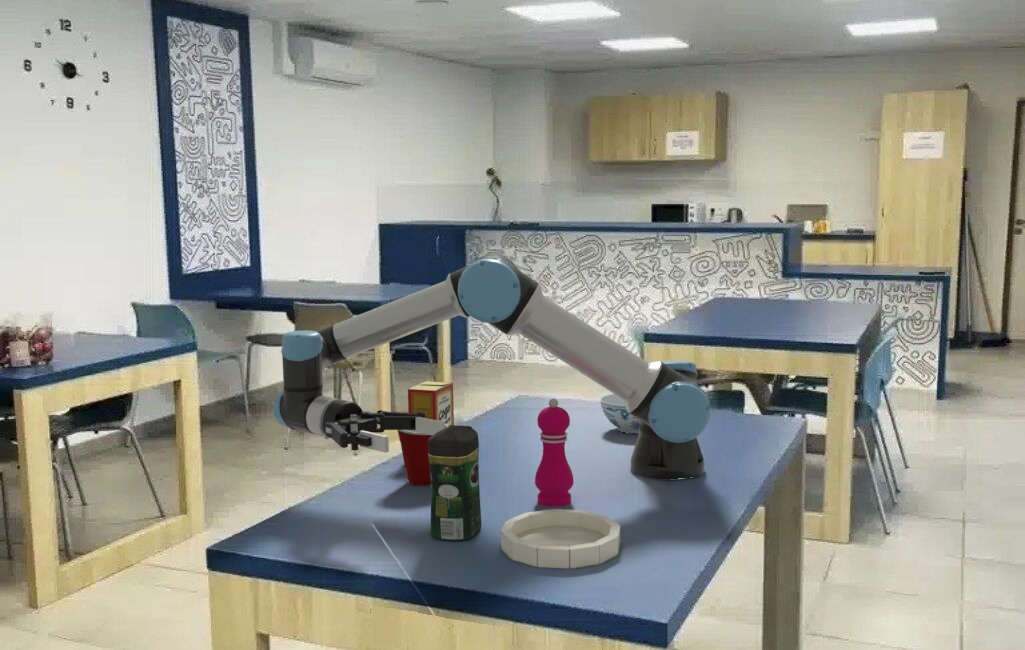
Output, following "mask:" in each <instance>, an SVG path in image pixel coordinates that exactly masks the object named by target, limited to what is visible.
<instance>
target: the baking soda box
mask: <svg viewBox="0 0 1025 650" xmlns="http://www.w3.org/2000/svg"><path fill="white" fill-rule="evenodd" d="M407 403H408V404H407V406H408V407H407V408H408V409H407V410H408V412H407V413H418V412H421V413H424V414H426V418H427V419H432V420H437V421H442V422H444V423H445V424H447V425H448V426H450V425H455V421H454V420H455V414H454V413H455V411H454V410H455V409H454V382H450V381H449V382H446V381H445V382H444V381H429V380H428V381H427V380H426V381H423V382H421V383H419V384H417V385H414V386H412V387H410V388H408V389H407Z"/></svg>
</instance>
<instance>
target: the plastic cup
mask: <svg viewBox="0 0 1025 650" xmlns="http://www.w3.org/2000/svg"><path fill="white" fill-rule="evenodd" d="M447 427H449V426H448V425H447V424H445V423H444V429H445V428H447ZM397 433H398V438H399V442H400V447H401V448H400V449H401V452H402V453H401V454H402V458H403V464H404V468H405V472H406V478H407V480H408V483H409V484H410V485H411V486H416V487H417V486H418V487H419V486H420V487H421V486H422V487H424V486H431V483H430V464H429V457H428V439H429V438H430V437H432V436H433V435H428V434H424V433H419V432H416V430H397Z"/></svg>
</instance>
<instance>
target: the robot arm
mask: <svg viewBox="0 0 1025 650" xmlns="http://www.w3.org/2000/svg"><path fill="white" fill-rule="evenodd" d="M457 316H460V317H463V318H466V319H467V318H469V317H471V318H472V319H474V320H476V321H479V322H481V323H485V324H486V323H487V324H489V325H490V326H492V327H494V328H495V329H497V330H498V331H500V332H501V333H503V334H505V335H506V336H511V335H512V336H513V335H515V334H519V335H520V336H523V337H524V338H525V339H527V340H529V341H530V342H532V343H534V344H535V345H536V346H538V347H540V348H542V349H543V350H544V351H546V352H547V353H549V354H550V355H552V356H554V357H556V358H557V359H559V360H560V361H562V362H564V363H565V364H566V365H568V366H570V368H573V369H574V370H576V371H577V372H579V373H581V374H582V375H584V376H585V377H587V378H588V379H590V380H591V381H593V382H594V383H596V384H598V385H600V386H601V387H602V388H604V389H606V390H607V391H609V392H610V393H612V394H615V395H616V396H618V397H620V398H621V399H623V400H624V402H625V406H626V410H627V412H628V413H630V414H632V415H633V416H635V417H636V418H638V419H639V433H638V436H637V439H636V442H635V445H634V449H633V451H632V454H631V457H630V471H631V472H632V473H633V474H635V475H637V476H639V477H643V478H646V479H652V480H661V481H671V480H670V479H678V478H690V477H694V478H697V477H696V476H698V475H700V474H702V473H703V472H704V473H705V459H704V456H703V453H702V449H701V446H700V444H699V440H698V437H699V436H700V435H701V434H702V433H703V432H704V430H705V429H706V427H707V426H708V423H709V421H710V417H711V405H710V401H709V397H708V396H707V394H706V392H705V391H704V389H702V388H701V386H699V385H698V384H697V383H698V382H697V378H698V375H699V374H698V372H697V371H698V370H697V365H696V363H695V362H693V361H685V360H664V361H663V360H657V361H656V360H655V361H647V360H645V359H643V358H642V357H640V356H638V355H637V354H635V353H634V352H632V351H631V350H629V349H627V348H626V347H624V346H623V345H621V344H620V343H618V342H616V341H615V340H613V339H612V338H610V337H609V336H607V335H605V334H604V333H602V332H601V331H599V330H597V329H596V328H595V327H593V326H591V325H590V324H589V323H587V322H585V321H584V320H583V319H581V318H579V317H578V316H576V315H574V314H573V313H571V312H569V311H568V310H566V309H565V308H564V307H562V306H561V305H559V304H557V303H555V302H554V301H552V300H551V299H549V298H548V297H546V296H545V295H544V293H543V290H542V286H541V283H539V282H537V281H536V280H534V279H533V278H532V277H530V276H529V275H527V274H526V273H525V272H522V271H521V270H519V269H518V267H517V266H516V265H515V263H514V262H512V261H511V260H510V259H509V258H507V257H506V256H502V255H500V254H499V255H498V254H487V255H483V256H479V257H478V258H476V259H474V260H473V261H471V262H470V263H469V264H468V265H465V266H464V267H462V268H459V269H457V270H456V271H454V272H451V273H448V274H447V277H446V279H445V280H444V281H441V282H439V283H436V284H433V285H432V286H429V287H425V288H424V289H422V290H418V291H416V292H414V293H411V294H409V295H405V296H403V297H401V298H398V299H396V300H392V301H390V302H389V303H385V304H383V305H381V306H378V307H376V308H372V309H371V310H368V311H365V312H363V313H360V314H358V315H356V316H352V317H350V318H348V319H346V320H343V321H340V322H338V323H335V324H333V325H330V326H328V327H325V328H322V329H318V330H309V329H308V330H307V329H306V330H292V331H287V332H284V334H283V336H282V339H281V342H282V344H281V350H280V351H281V355H282V356H281V358H282V359H281V360H282V380H283V381H282V383H283V388H282V391H281V392H280V393H279V394H278V395H277V396H276V398H275V401H274V402H273V405H272V413H273V417H274V418H275V420H276V422H277V423H278V424H280V425H281V426H282V427H286V428H288V429H291V430H292V431H296V432H298V431H299V432H304V433H309V434H313V435H317V436H322V437H323V438H324V439H325V440H329V439H332V440H333V441H334V442H335V443H336V444H337V445H338V446H339V447H340V448H342V449H345V448H349V446H348V445H351V447H350V448H351V450H350V451H358V450H359V447H361V448H366V449H369V450H373V451H377V452H381V453H388V452H389V449H390V447H389V442H390V441H389V435H384V434H380V433H384V432H385V431H398V430H416V432H419V433H424V434H428V435H434V434H436V433H437V432H439V431H441V430H443V429H444V422H442V421H437V420H432V419H427V418H426V414H424V413H421V412H418V413H409V412H399V411H397V412H396V411H386V410H381V409H380V410H377V411H376V412H375V413H373V412H372V413H371V412H370V411H363V409H362V408H361V406H360V405H359V404H358V403H356V402H354V401H349V400H344V399H341V398H337V397H331V396H326V395H323V394H324V393H323V388H324V385H323V370H325V369H326V368H327V367H330V366H332V365H334V364H338V363H340V362H343V361H345V360H347V359H349V358H352V357H355V356H357V355H360V354H363V353H365V352H367V351H371V350H373V349H375V348H378V347H380V346H383V345H385V344H387V343H390V342H394V341H396V340H399V339H401V338H404V337H406V336H410V335H412V334H414V333H417V332H420V331H422V330H424V329H427V328H430V327H432V326H434V325H438V324H441V323H442V322H445V321H448V320H450V319H453V318H456V317H457ZM378 425H379V428H378ZM704 473H703V474H704ZM703 474H702V475H703ZM700 476H701V475H700ZM698 477H699V476H698ZM690 479H691V478H690Z"/></svg>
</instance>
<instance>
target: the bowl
mask: <svg viewBox="0 0 1025 650" xmlns="http://www.w3.org/2000/svg"><path fill="white" fill-rule="evenodd" d="M620 542H621V525H620V524H619V523H617V522H616V521H615V520H613V519H612V518H610V517H608V516H606V515H604V514H599V513H595V512H592V511H591V512H590V511H586V510H582V509H561V508H559V509H558V508H551V509H543V510H537V511H536V510H535V511H529V512H524V513H522V514H520V515H515V516H514V517H512V518H509V519H507V520H506V521H505V522H504V524H503V525H502V528H501V530H500V544H501V549H502V550H503V551H504V552H505V553H506V554H507V555H508V556H509V557H510V558H511V559H512V560H515V561H519V562H522V563H525V564H529V565H532V566H536V567H537V566H538V567H548V568H568V569H567V570H570V569H569V567H570V568H577V567H583V566H589V565H596V564H599V563H600V564H601V563H603V562H604V561H606V560H608V559H610V558H612V557H614V556H616V555H618V553H619V547H620ZM618 556H619V555H618ZM512 560H511V561H512ZM603 564H604V563H603ZM601 565H602V564H601ZM536 567H535V568H536Z"/></svg>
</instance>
